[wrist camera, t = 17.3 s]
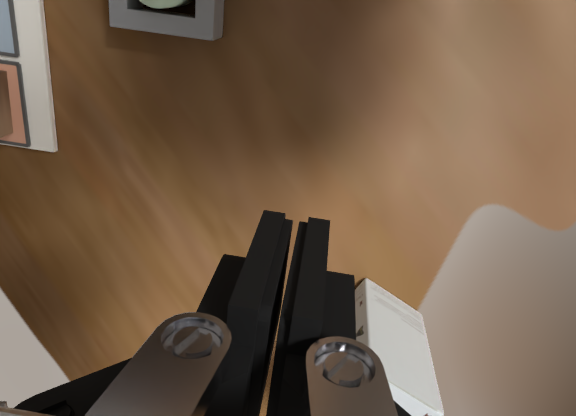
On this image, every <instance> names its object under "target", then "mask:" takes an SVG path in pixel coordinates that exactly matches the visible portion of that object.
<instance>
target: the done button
mask: <svg viewBox="0 0 576 416" xmlns="http://www.w3.org/2000/svg"><path fill="white" fill-rule="evenodd" d="M139 1H140V2H142V3H143V4H145V5H147V6H149V7H152V8H159V9H160V8H172V7H182V6H185V5H187V4H189V3H190V2H192V1H193V0H139Z"/></svg>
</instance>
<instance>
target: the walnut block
mask: <svg viewBox="0 0 576 416" xmlns="http://www.w3.org/2000/svg"><path fill="white" fill-rule="evenodd" d="M11 133H13V125H12V116H11V107H10V98H9V89H8V79H7V71H2V70H0V138H2V137H4V136H6V135H9V134H11Z"/></svg>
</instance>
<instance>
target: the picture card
mask: <svg viewBox="0 0 576 416" xmlns="http://www.w3.org/2000/svg"><path fill="white" fill-rule="evenodd" d="M0 70H2V71H7V79H8V89H9V98H10V107H11V116H12V125H13V133H11V134H9V135H6V136H4V137H2V138H0V144H3V145H9V146H16V147H22V148H29V149H35V150H42V151H48V152H56V151H58V146H57V136H56V125H55V115H54V105H53V95H52V84H51V74H50V64H49V54H48V44H47V33H46V23H45V13H44V3H43V0H0Z"/></svg>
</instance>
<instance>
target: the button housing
mask: <svg viewBox="0 0 576 416" xmlns="http://www.w3.org/2000/svg"><path fill="white" fill-rule="evenodd" d="M223 16H224V0H196V8H195V15H191V14H184V13H177V12H170V11H162V10H155V9H148V8H143V3H142V2H140V1H139V0H109V20H110V27H118V28H125V29H132V30H139V31H146V32H153V33H161V34H168V35H175V36H182V37H189V38H196V39H203V40H211V41H214V40H216V39H219V38H222V34H223Z"/></svg>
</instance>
